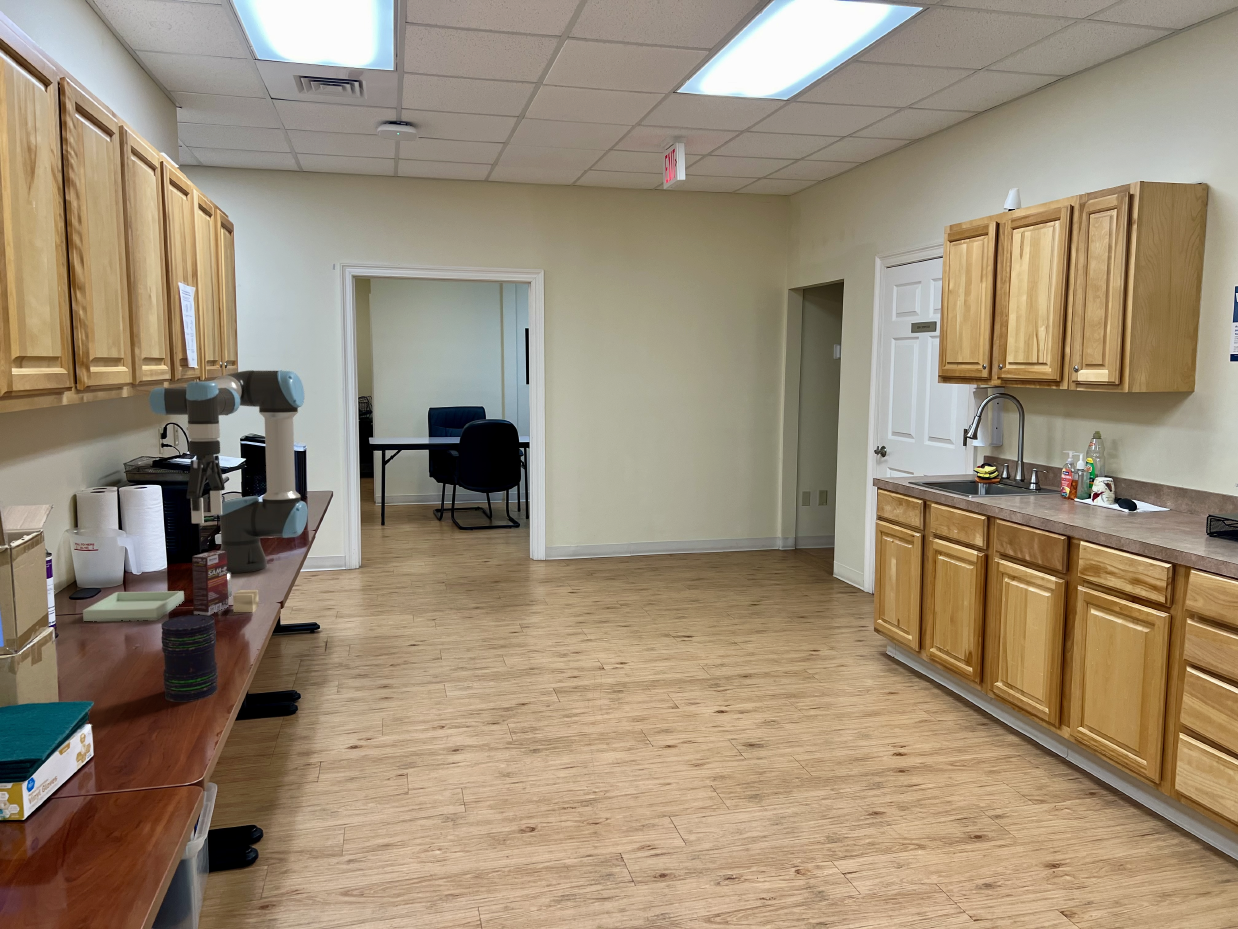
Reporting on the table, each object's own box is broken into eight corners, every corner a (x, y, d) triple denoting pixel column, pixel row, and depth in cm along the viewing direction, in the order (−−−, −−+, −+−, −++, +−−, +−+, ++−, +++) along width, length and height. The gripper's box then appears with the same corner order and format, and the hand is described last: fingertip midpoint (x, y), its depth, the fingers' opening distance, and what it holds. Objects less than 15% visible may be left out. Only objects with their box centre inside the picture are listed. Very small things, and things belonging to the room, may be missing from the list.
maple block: (239, 608, 235) (239, 590, 234) (258, 607, 235) (258, 590, 235) (233, 613, 230) (232, 595, 229) (252, 613, 230) (252, 594, 230)
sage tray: (116, 602, 238) (116, 592, 238) (184, 601, 240) (183, 591, 240) (83, 621, 220) (82, 610, 220) (156, 620, 222) (156, 609, 222)
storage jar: (168, 706, 167) (164, 632, 165) (160, 690, 175) (156, 619, 173) (223, 694, 173) (220, 623, 171) (213, 680, 181) (210, 611, 179)
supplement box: (209, 616, 227) (206, 557, 225) (193, 614, 228) (190, 556, 226) (230, 607, 235) (227, 550, 233) (214, 606, 236) (212, 549, 234)
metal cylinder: (216, 595, 247) (215, 571, 246) (234, 594, 248) (233, 571, 247) (210, 599, 242) (209, 575, 241) (228, 599, 243) (227, 575, 242)
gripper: (206, 436, 238) (210, 511, 240) (169, 443, 213) (173, 527, 216) (234, 436, 239) (237, 510, 241) (201, 443, 214) (204, 526, 216)
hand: (207, 518), depth 228 cm, fingers open, 13 cm apart
